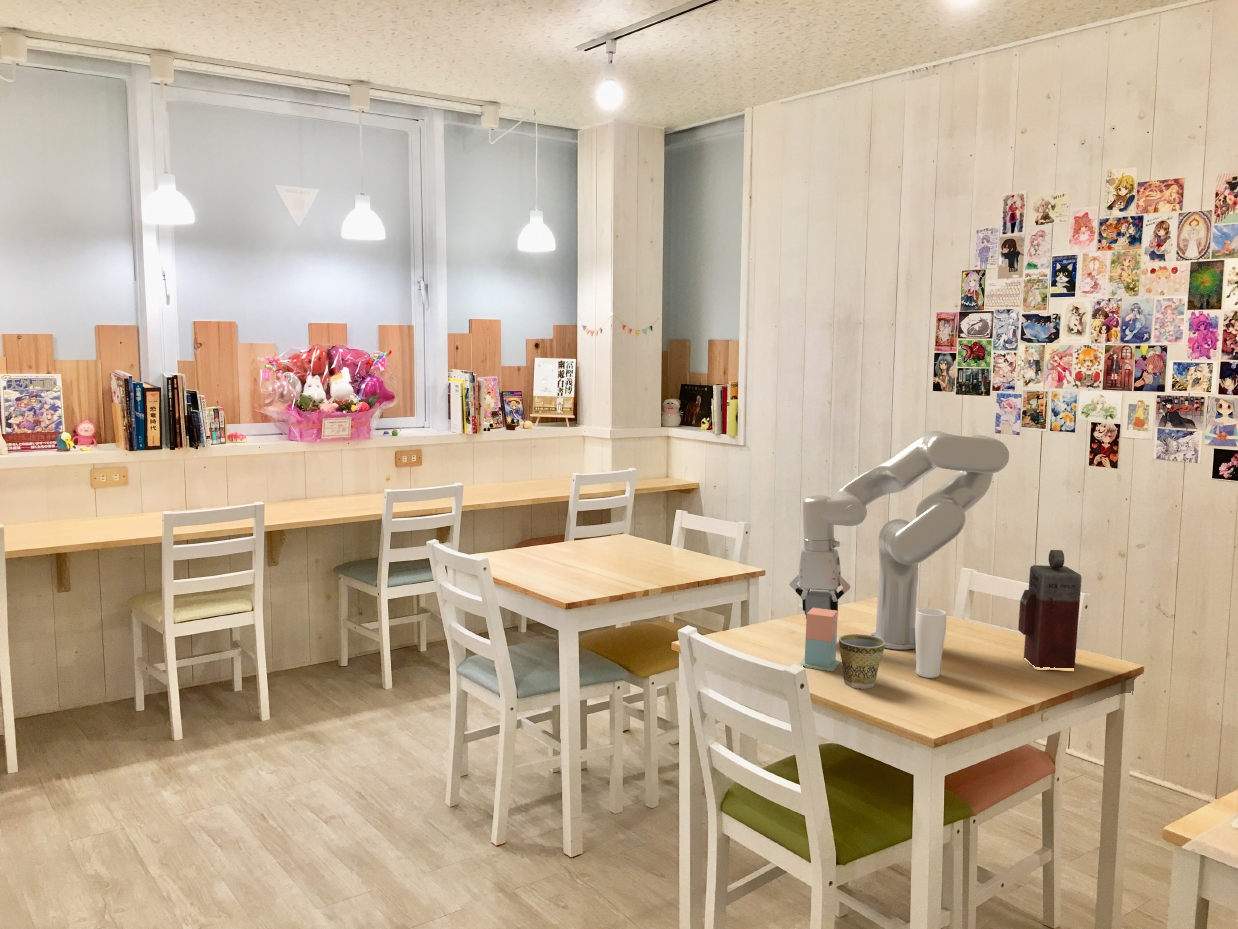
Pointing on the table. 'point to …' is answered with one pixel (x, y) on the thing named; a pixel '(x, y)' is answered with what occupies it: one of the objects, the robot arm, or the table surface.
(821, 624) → the coral brick
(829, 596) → the charcoal brick
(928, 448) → the robot arm
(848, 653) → the ceramic cup
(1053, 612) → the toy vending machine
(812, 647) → the teal base brick
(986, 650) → the table surface
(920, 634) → the drinking glass
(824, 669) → the green baseplate
